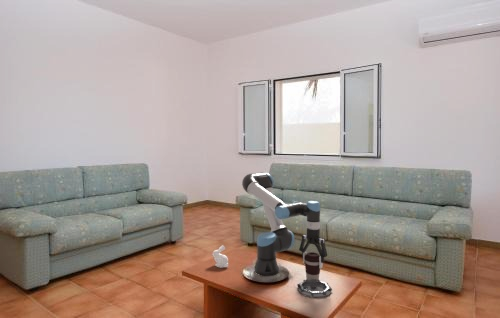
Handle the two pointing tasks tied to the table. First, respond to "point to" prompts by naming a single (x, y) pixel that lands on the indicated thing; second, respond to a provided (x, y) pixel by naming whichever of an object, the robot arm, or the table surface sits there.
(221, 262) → the rabbit
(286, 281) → the table surface
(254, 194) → the robot arm
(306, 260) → the coffee cup
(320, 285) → the grey flat octagonal tray
